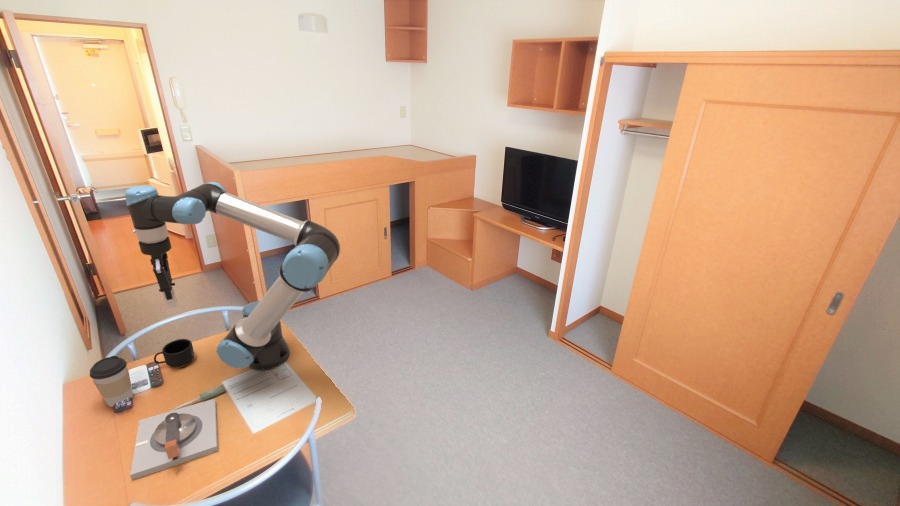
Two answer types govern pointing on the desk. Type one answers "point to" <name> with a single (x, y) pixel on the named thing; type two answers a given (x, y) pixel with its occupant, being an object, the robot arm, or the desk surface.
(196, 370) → the desk surface
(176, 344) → the mug
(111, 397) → the coffee cup
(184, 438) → the dial
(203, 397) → the screwdriver
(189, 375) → the desk surface
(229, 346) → the robot arm
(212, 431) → the plate
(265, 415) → the desk surface
